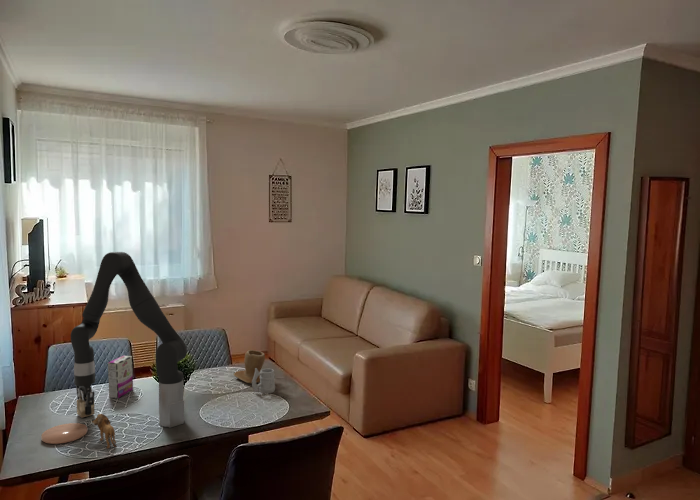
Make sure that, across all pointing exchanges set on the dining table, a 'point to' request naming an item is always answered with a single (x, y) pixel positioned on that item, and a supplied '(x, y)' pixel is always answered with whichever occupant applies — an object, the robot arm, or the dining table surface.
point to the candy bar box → (120, 376)
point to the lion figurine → (105, 429)
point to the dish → (64, 433)
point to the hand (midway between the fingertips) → (85, 412)
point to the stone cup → (251, 366)
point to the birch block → (83, 408)
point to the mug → (264, 380)
